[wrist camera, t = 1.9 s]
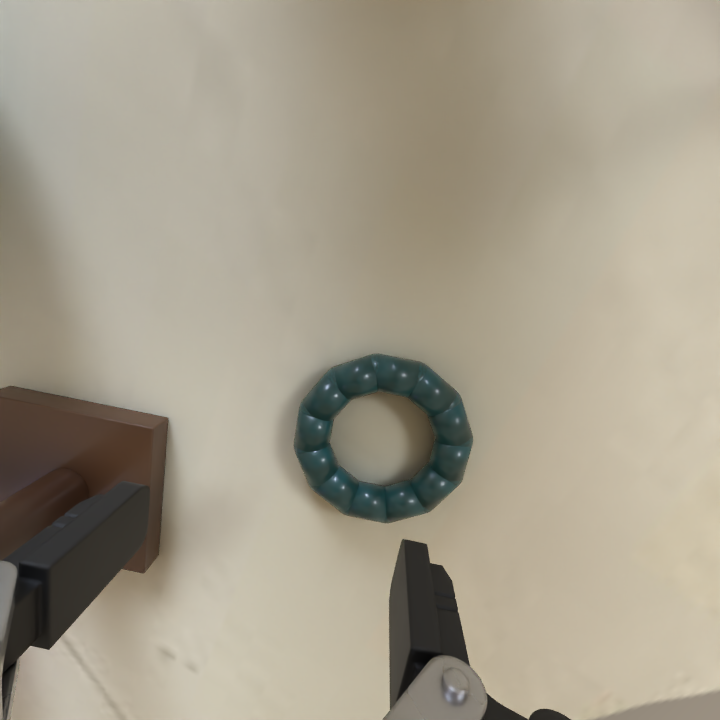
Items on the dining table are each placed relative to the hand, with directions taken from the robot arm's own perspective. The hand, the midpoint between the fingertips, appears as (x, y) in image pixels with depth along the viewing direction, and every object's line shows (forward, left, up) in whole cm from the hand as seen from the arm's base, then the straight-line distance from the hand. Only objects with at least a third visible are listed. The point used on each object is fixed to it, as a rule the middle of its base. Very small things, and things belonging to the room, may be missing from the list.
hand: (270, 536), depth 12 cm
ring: (0, +3, -8) cm, 9 cm away
